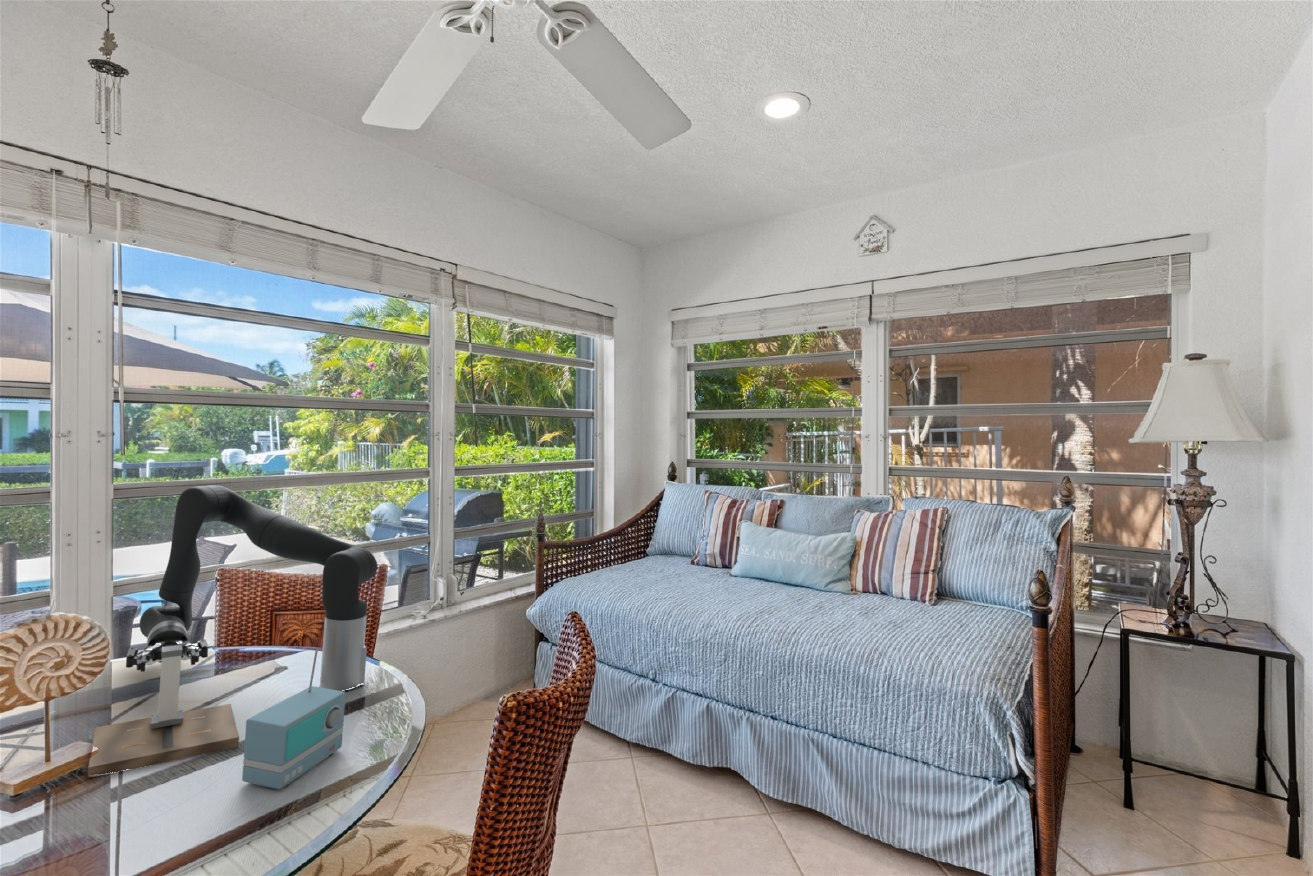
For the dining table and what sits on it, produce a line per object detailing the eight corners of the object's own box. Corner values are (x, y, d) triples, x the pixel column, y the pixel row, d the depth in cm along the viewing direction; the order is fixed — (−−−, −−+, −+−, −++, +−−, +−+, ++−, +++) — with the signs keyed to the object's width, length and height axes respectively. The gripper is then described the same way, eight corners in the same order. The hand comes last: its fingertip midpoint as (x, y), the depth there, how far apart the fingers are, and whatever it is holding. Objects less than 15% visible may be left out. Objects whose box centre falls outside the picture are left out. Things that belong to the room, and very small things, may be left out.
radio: (284, 796, 110) (292, 681, 109) (240, 786, 111) (248, 673, 111) (346, 752, 125) (354, 651, 125) (307, 744, 127) (314, 645, 127)
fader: (182, 715, 130) (187, 643, 130) (183, 723, 127) (188, 649, 127) (151, 720, 127) (156, 647, 127) (151, 728, 124) (156, 653, 124)
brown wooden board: (230, 713, 137) (230, 703, 137) (238, 747, 124) (239, 736, 124) (94, 737, 123) (95, 727, 123) (87, 778, 110) (88, 767, 110)
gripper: (129, 628, 143) (126, 651, 131) (206, 620, 152) (210, 641, 139) (126, 661, 143) (124, 687, 131) (203, 651, 152) (208, 675, 139)
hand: (168, 663), depth 135 cm, fingers open, 8 cm apart
